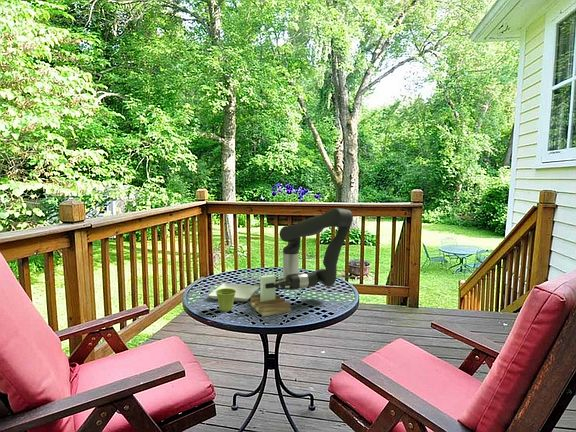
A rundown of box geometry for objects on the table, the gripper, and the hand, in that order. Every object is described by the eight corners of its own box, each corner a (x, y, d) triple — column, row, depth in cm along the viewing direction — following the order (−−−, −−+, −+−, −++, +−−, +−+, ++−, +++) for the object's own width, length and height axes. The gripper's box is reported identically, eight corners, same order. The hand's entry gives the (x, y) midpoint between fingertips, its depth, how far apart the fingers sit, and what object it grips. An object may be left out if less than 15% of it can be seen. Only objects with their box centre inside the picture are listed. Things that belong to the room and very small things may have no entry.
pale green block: (260, 305, 178) (260, 276, 177) (272, 303, 181) (273, 274, 180) (262, 307, 176) (262, 277, 174) (275, 305, 179) (275, 276, 177)
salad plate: (248, 304, 184) (248, 297, 184) (207, 301, 188) (207, 294, 188) (260, 291, 205) (260, 285, 204) (223, 288, 209) (223, 282, 208)
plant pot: (237, 305, 181) (237, 288, 180) (235, 313, 172) (235, 294, 171) (217, 305, 181) (217, 288, 180) (214, 313, 172) (214, 294, 171)
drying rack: (249, 304, 184) (249, 295, 183) (275, 300, 190) (276, 291, 189) (262, 316, 169) (262, 306, 168) (291, 311, 175) (291, 302, 174)
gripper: (290, 270, 190) (258, 273, 182) (304, 277, 177) (270, 281, 170) (290, 284, 191) (258, 289, 183) (303, 292, 178) (270, 297, 171)
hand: (264, 285), depth 176 cm, fingers closed on pale green block, 2 cm apart
